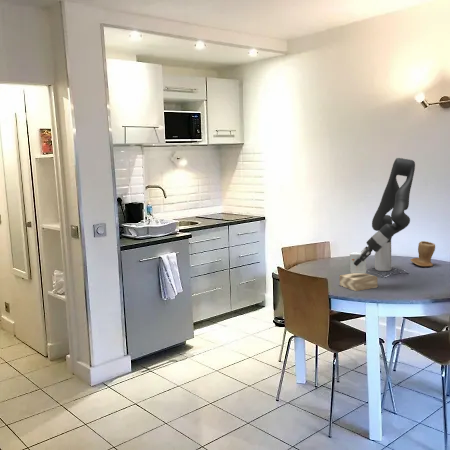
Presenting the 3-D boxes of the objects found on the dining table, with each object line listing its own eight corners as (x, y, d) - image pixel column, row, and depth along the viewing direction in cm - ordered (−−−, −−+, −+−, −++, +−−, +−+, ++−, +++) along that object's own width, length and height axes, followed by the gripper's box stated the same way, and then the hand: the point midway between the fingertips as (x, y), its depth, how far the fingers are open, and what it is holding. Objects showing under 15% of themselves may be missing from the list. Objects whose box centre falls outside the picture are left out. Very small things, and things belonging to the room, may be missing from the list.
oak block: (339, 286, 276) (339, 275, 276) (360, 282, 282) (360, 271, 281) (356, 291, 264) (355, 280, 263) (377, 287, 269) (377, 276, 268)
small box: (366, 271, 273) (366, 252, 272) (365, 273, 268) (365, 254, 266) (351, 271, 276) (350, 252, 274) (350, 273, 270) (349, 253, 269)
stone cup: (438, 267, 308) (438, 243, 306) (418, 268, 308) (418, 243, 306) (429, 262, 323) (429, 239, 321) (410, 263, 323) (409, 239, 321)
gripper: (371, 234, 274) (349, 256, 279) (372, 238, 260) (349, 261, 265) (382, 243, 274) (359, 265, 278) (383, 248, 260) (360, 271, 264)
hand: (354, 263), depth 271 cm, fingers closed on small box, 6 cm apart
